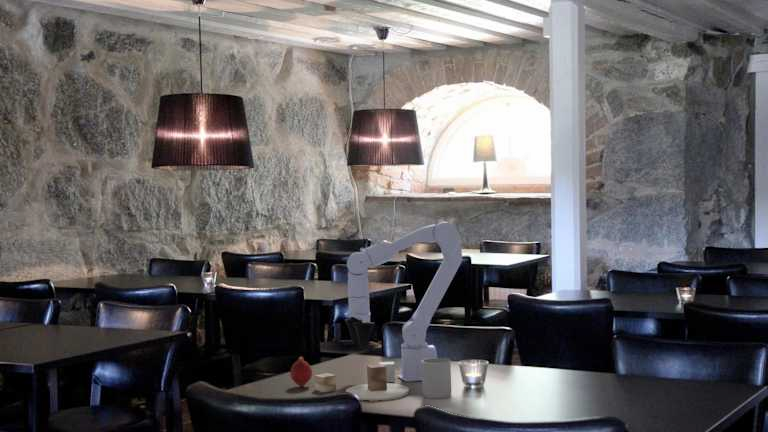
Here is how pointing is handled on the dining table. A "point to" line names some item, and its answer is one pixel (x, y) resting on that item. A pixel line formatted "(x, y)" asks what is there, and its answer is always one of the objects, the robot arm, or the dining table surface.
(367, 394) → the plate
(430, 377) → the cup
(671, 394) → the dining table surface
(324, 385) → the oak block
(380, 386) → the walnut block
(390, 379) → the grey block
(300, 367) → the onion
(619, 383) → the dining table surface
